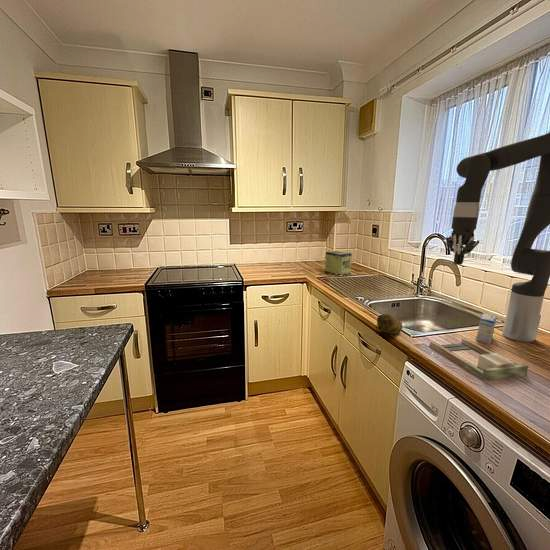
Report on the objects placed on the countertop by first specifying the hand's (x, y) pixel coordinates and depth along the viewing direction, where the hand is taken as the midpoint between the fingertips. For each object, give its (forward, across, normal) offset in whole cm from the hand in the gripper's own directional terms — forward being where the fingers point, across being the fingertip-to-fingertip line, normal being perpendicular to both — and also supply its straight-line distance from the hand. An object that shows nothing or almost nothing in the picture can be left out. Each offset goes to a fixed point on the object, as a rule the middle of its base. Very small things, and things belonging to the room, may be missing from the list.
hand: (457, 264), depth 109 cm
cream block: (+27, -26, +7) cm, 38 cm away
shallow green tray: (+27, -19, +7) cm, 34 cm away
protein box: (+27, +105, -1) cm, 108 cm away
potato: (+27, +4, +22) cm, 35 cm away
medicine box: (+27, -7, -10) cm, 30 cm away
